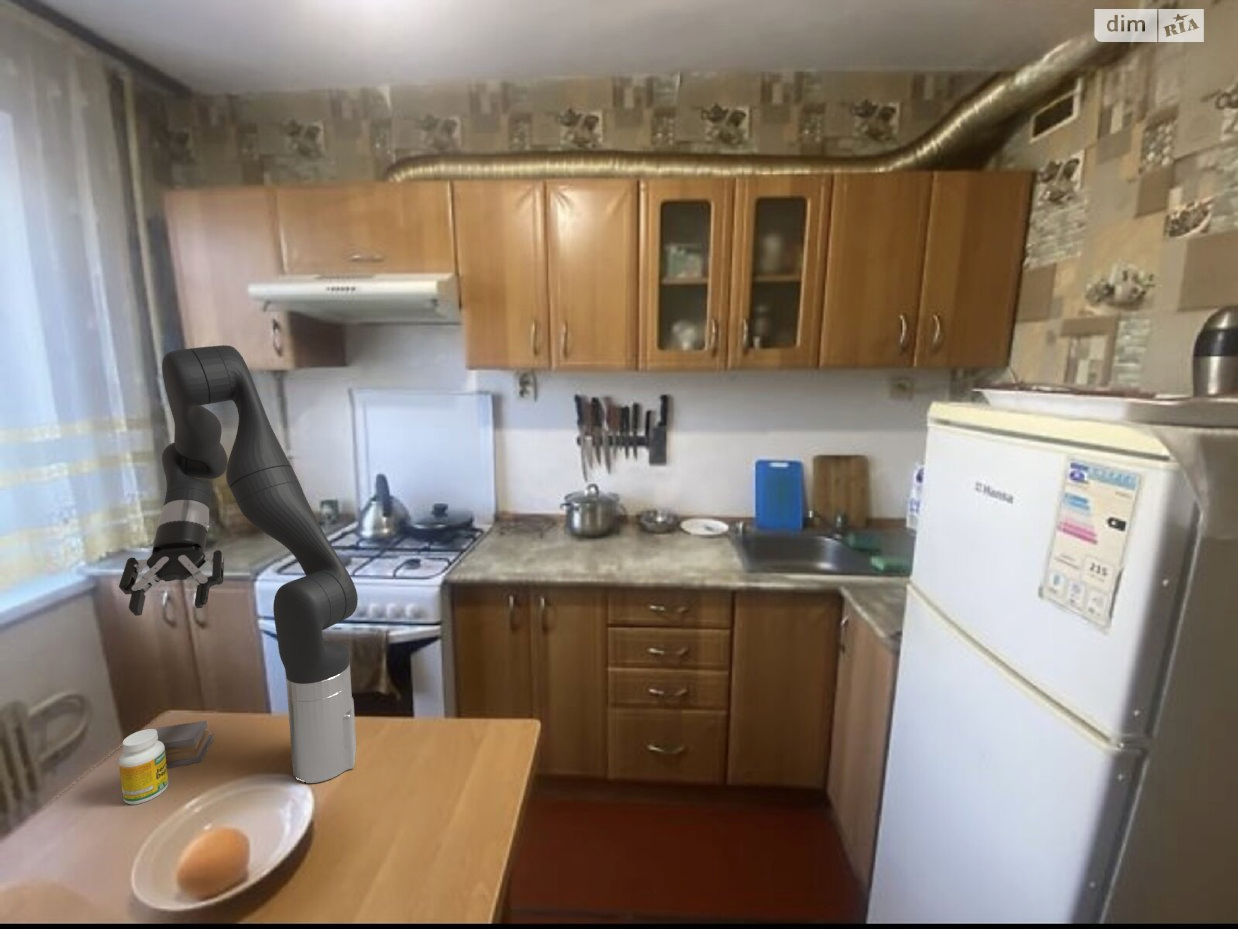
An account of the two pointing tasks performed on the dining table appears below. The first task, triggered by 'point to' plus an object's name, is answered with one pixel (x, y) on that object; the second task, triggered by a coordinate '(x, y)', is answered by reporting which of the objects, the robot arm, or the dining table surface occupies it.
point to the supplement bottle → (143, 767)
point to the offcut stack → (185, 742)
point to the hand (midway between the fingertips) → (168, 610)
